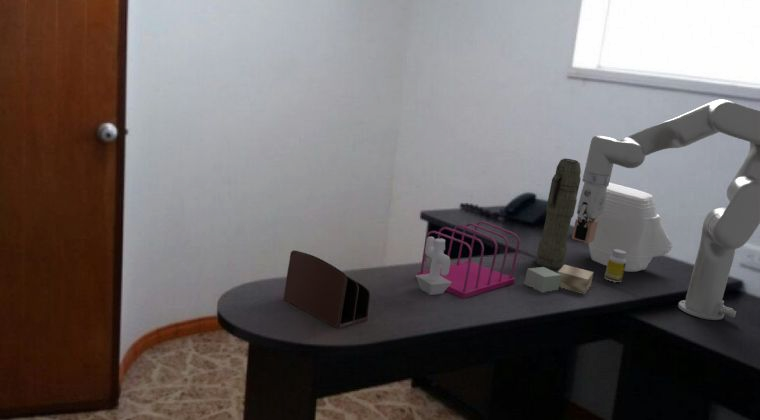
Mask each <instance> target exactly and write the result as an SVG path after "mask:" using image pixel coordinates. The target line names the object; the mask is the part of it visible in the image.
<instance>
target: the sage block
mask: <svg viewBox="0 0 760 420" xmlns="http://www.w3.org/2000/svg"><path fill="white" fill-rule="evenodd" d="M560 278H561V275H560V274H558V272H556V271H553V270H551V269H550V268H547V267H543V266H540V267H531V268H530V267H529V268H527V269H526V274H525V280H524V285H526V286H527V287H530V288H531V287H533V288H534V290H535V289H537V290H539V291H541V292H542V293H546V292H545V291H550V292H553V291H552V290H557V291H558V290H559V289H560V288H559V283H560ZM533 288H532V289H533ZM537 290H536V291H537ZM539 291H538V292H539ZM541 292H540V293H541Z"/></svg>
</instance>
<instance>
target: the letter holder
mask: <svg viewBox="0 0 760 420" xmlns="http://www.w3.org/2000/svg"><path fill="white" fill-rule="evenodd" d="M289 254H290V255H289V259H288V260H289V261H288V266H287V267H288V268H287V273H286V278H285V279H286V280H285V288H284V294H283V301H285V302H287V303H289V304H291V305H293V306H295V307H297V308H298V309H301V310H302V311H304V312H306V313H308V314H310V315H311V316H314V317H315V318H316V319H319V320H320V321H323V322H325V323H326V324H328V325H329V326H332V327H333V326H334V327H333V328H335V327H336V328H335V329H337V328H340V329H342V328H341V327H343V328H346V327H345V326H347V327H349V326H348V325H350V326H353V325H352V324H354V325H356V324H355V323H357V324H360V323H359V322H361V323H363V321H364V322H367V321H368V316H369V310H370V301H371V292H370V290H369V289H368V288H367V287H366V286H365V285H363V284H361V283H360V282H358V281H356V280H354V279H353V278H352V277H349V276H347V275H346V274H345V273H344V272H343V271H341V270H340V269H339V268H338V267H336V266H334V265H332V264H330V263H329V262H327V261H325V260H323V259H321V258H319V257H317V256H315V255H313V254H309V253H306V252H303V251H299V250H292V251H291V252H290V253H289ZM366 320H367V321H366Z"/></svg>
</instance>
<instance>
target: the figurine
mask: <svg viewBox="0 0 760 420" xmlns="http://www.w3.org/2000/svg"><path fill="white" fill-rule="evenodd" d="M445 250H446V239H445V238H442V237H440V239H437V238H435V237H434V236H429V237H428V238H427V242H426V248H425V257H427V258H430V259H431V262H430V269H429V270H430V273H429V274H422V275H417V274H415V278H416V280H417V283H418V286H419V288H420V290H421V291H423V292H425V293H427V294H428V295H430V296H431V295H432V296H433V295H441V294H444V293H445V291H446V289H447V288H448V287H449V286H450V284H451V283H452V282H451V281H449V280H447V279H445V278H444V277H442V276H440V270H441V275H444V276H446V275H448V273H449V268H450V265H451V258H450V257H449V256H447V255H448V254H445V253H444V252H445Z"/></svg>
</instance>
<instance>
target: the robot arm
mask: <svg viewBox="0 0 760 420" xmlns="http://www.w3.org/2000/svg"><path fill="white" fill-rule="evenodd" d="M718 133H721V134H723V135H727V136H730V137H732V138H736V139H739V140H743V141H746V142H749V151H748V154H747V156H746V157H745V159H744V160H743V161H744V162H743V164H742V165H741V167H740V168H739V169H738V171H737V172H736V174H735V176H734V178H733V179H732V180H731V182H730V183H729V185H728V186H727V190H726V197H727V199H728V201H729V203H728V205H727V207H723V206H722V207H716V208H715V209H712V210H711V211H710V212H709V213H707V215H706V216H705V218H704V221H703V223H702V229H701V235H700V242H699V247H698V251H697V255H696V258H695V263H694V265H693V270H692V273H691V277H690V281H689V284H688V289H687V292H686V295H685V299H683V300H680V301H679V302H678V305H677V307H678V308H679V310H681V311H683V312H684V313H686V314H688V315H691V316H693V317H697V318H700V319H703V320H710V321H719V320H722V319H723V318H724V317H725V315H726V316H729V317H731V318H735V317H736V313H737V310H734V308H732V307H728V306H726V305H724V303H725V300H723V298H724V294H725V291H726V287H727V283H728V280H729V276H730V273H731V268H732V265H733V262H734V259H735V254H736V250H738V249H739V248H741V247H744V245H745V244H747V242H748V241H750V239H751V237H752V236H753V234H754V233H755V231H756V230H757V228H758V226H759V225H760V110H757V109H754V108H750V107H749V106H748V107H747V106H745V105H741V104H738V103H736V102H733V101H730V100H728V99H717V100H713V101H710V102H708V103H706V104H703V105H702V106H699V107H698V108H695V109H693V110H690V111H687V112H686V113H684V114H681V115H679V116H677V117H674V118H672V119H668V120H665V121H663V122H661V123H659V124H656V125H652V126H650V127H647V128H645V129H642V130H640V131H638V132H635V133H632V134H631V135H628V136H625V137H624V138H622V139H621V140H617V139H615V138H613V137H610V136H606V135H605V136H604V135H594V136H592V138H591V140H590V144H589V150H588V153H587V157H586V163H585V167H584V173H583V177H582V182H583V183H584V184H583V187H582V189H581V193H580V196H579V201H578V205H577V209H576V214H577V218H576V219H578V222H577V227H576V232H575V238H576V239H580V240H583V241H584V240H585V239H586V234H587V230H588V228H587V225H588V222H589V219H591V220H595V221H596V218H597V217H599V216H601V215H602V214H603V210H604V204H605V199H606V192H607V186H609V182H610V181H611V177H612V172H613V167H614V165H616V166H620V167H621V168H622V167H623V168H626V169H635V168H638V167H640V166H641V165H642V164H643V163H644V161H645V159H646V156H649V155H651V154H653V153H657V152H660V151H662V150H663V151H664V150H669V149H679V148H684V147H687V146H690V145H691V144H695V143H697V142H698V141H700V140H703V139H706V138H708V137H710V136H714V135H715V134H718ZM584 214H586V216H584ZM583 218H585V219H586V221H585V219H583Z"/></svg>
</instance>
